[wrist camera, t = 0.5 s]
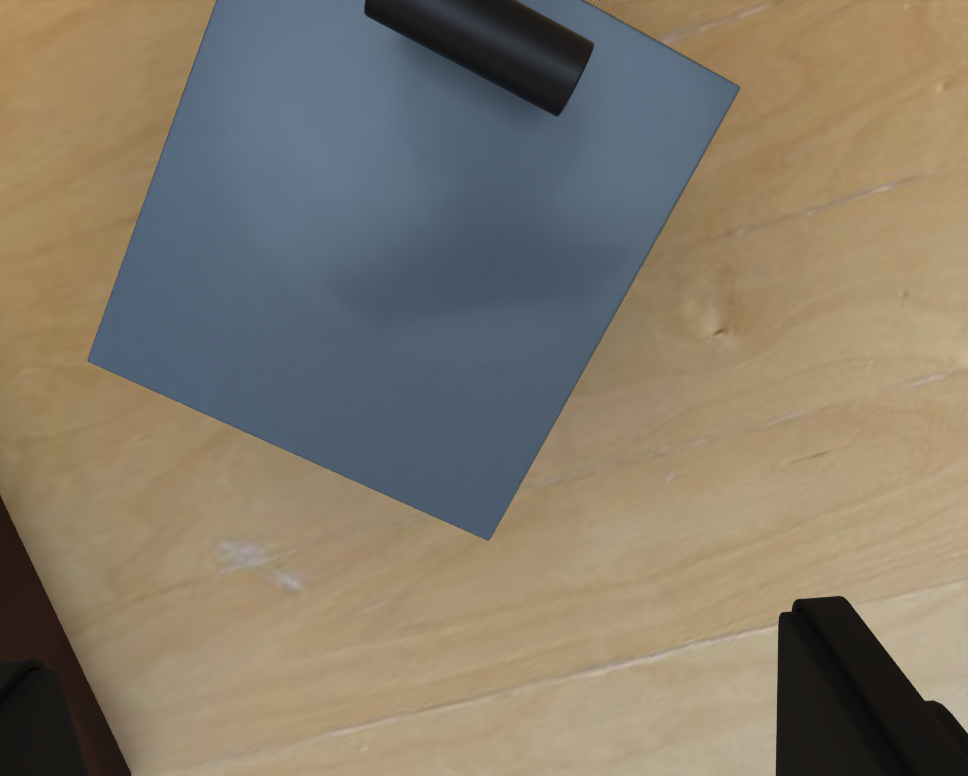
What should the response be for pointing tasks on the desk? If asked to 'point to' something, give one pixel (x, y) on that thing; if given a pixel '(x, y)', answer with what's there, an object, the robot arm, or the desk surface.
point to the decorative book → (50, 650)
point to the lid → (404, 230)
